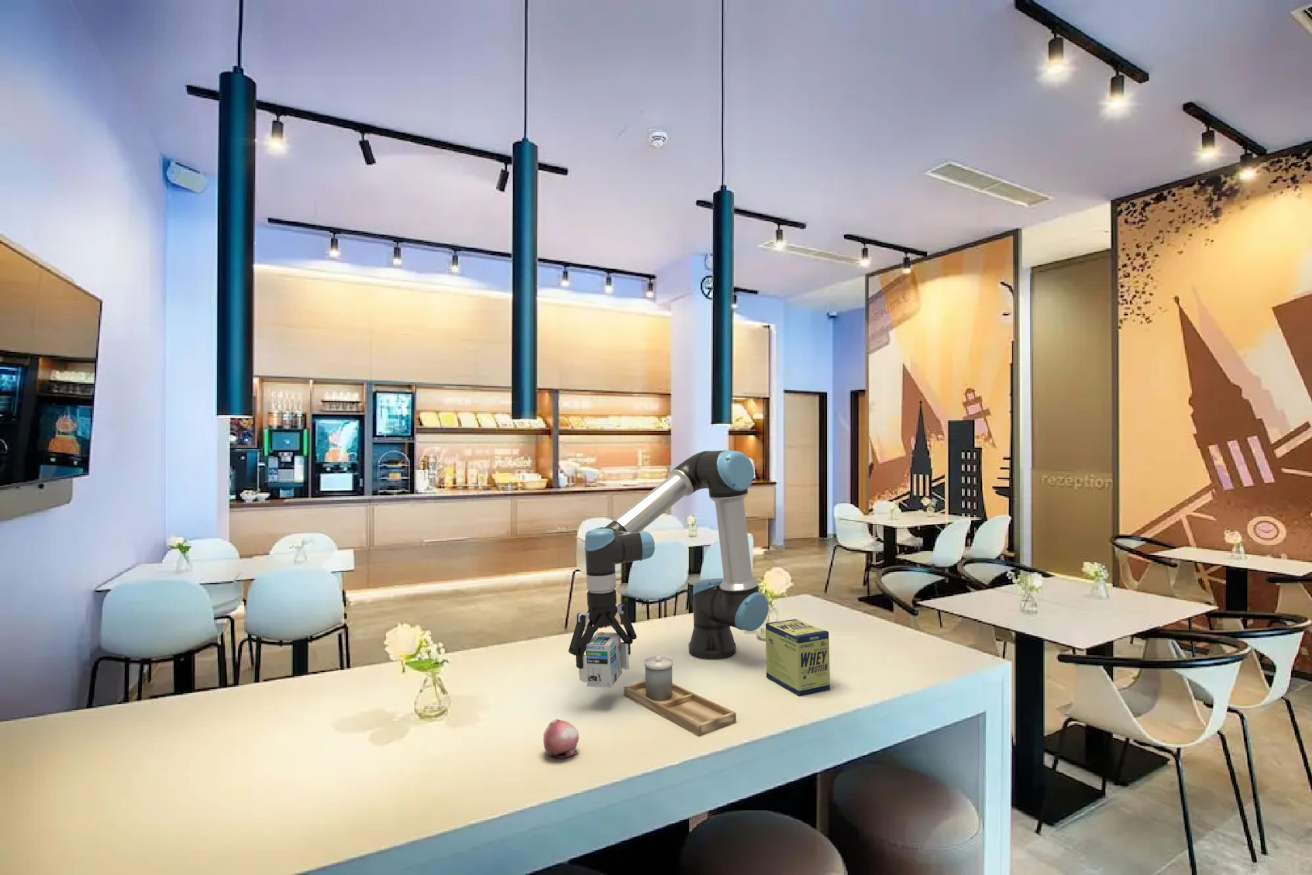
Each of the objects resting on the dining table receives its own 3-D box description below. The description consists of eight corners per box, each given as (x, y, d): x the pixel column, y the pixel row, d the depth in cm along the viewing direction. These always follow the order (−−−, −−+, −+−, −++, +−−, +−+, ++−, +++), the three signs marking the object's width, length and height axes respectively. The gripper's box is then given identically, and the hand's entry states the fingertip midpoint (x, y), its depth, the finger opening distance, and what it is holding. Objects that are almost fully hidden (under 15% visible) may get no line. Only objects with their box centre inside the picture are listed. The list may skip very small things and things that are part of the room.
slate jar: (661, 688, 166) (661, 649, 167) (679, 696, 160) (678, 656, 161) (639, 695, 162) (638, 655, 162) (656, 703, 156) (655, 662, 156)
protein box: (799, 697, 161) (798, 636, 161) (765, 677, 175) (764, 622, 176) (831, 690, 165) (830, 631, 166) (795, 671, 179) (794, 617, 180)
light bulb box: (612, 688, 153) (610, 644, 153) (585, 687, 155) (584, 644, 155) (622, 672, 164) (621, 631, 164) (598, 671, 165) (596, 631, 165)
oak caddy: (659, 685, 171) (658, 676, 171) (736, 722, 146) (735, 712, 146) (623, 695, 164) (623, 686, 164) (698, 736, 140) (698, 726, 140)
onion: (544, 751, 135) (549, 716, 138) (579, 755, 135) (583, 719, 138) (537, 756, 128) (543, 719, 130) (575, 760, 128) (579, 722, 130)
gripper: (631, 579, 170) (634, 659, 169) (552, 595, 155) (555, 682, 155) (647, 584, 164) (651, 666, 163) (566, 600, 149) (570, 691, 149)
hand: (604, 674), depth 159 cm, fingers closed on light bulb box, 12 cm apart
